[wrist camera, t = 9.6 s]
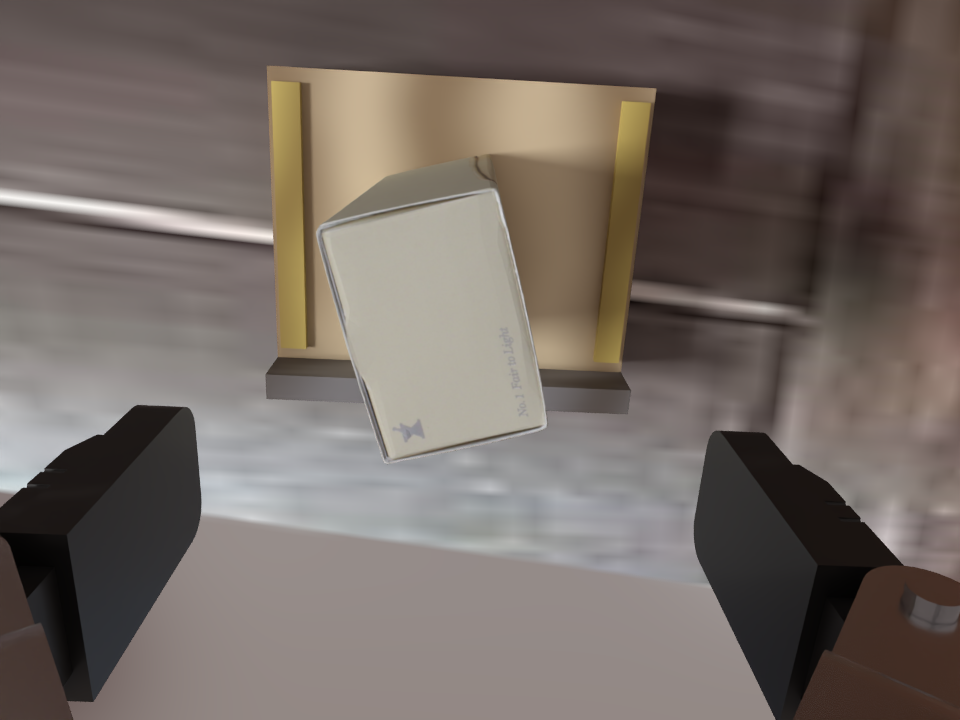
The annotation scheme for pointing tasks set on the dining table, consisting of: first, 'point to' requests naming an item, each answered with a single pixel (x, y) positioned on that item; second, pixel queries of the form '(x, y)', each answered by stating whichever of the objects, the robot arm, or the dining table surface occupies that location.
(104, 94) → the dining table surface
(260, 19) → the dining table surface
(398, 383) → the skincare box
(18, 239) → the dining table surface
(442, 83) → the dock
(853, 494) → the dining table surface
